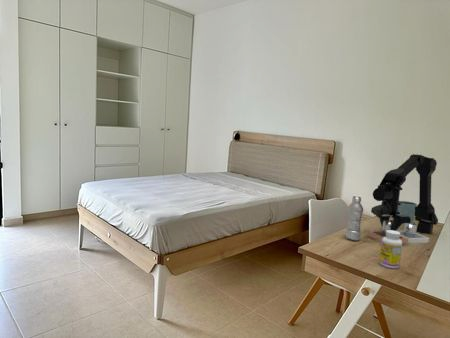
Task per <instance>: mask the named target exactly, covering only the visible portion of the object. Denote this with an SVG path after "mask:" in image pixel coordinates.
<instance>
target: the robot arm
mask: <svg viewBox="0 0 450 338" xmlns="http://www.w3.org/2000/svg"><path fill="white" fill-rule="evenodd" d="M437 163H438V162H437V160H436V159H435V158H434V157H428V156H425V155H422V154H414V153H413V154H411V155H410V156H409V158H408V159H406V160H405V161H404V162H403V163H402V164H401V165H400V166H399V167H397V168H393V169H391V170H389V171H387V172H386V173H385V174H384V175H383V178H382V180H381V182H380V183H379V185H377V188H375V189H374V190H373V192H372V197H373V199H374V200H375V201H377V202H381V204H377V205H375V206H373V207H371V209H370V210H371V213H372V214H373V215H374V216H376V217H377V218H378V219H379V222H380V225H381V227H382V226H383V220H389V221H390V222H391V230H393V231H398V229H399V228H400V227H401V226H402V225H403V224H402V223H411V218H410V217H409V216H406V215H397V214H400V212H398V205H401V203H399V201H400V195H401V194H400V193H401V191H402V190H404V189H403V188H402V187H401V186H402V185H403V184H404V183H405V182H406V180H407V176H408V175H409V174H410V173H412V171H414V169H415V170H416V172H417V173H418V175H419V193H418V194H419V200H418V204H417V206H416V207H415V213H414V214H415V217H414V221H416V222H417V224H416V225H417V229H416V233H418V234H426V235H431V234H433V235H435V234H434V233H433V231H434V230H433V229H434V225H435V226H436V225H437V224H438V223H439V218H438V217H437V215H436V212H435V207H434V206H433V204H432V175H433V174H434V172H435V171H436V169H437ZM391 218H392V219H391Z"/></svg>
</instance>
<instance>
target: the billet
mask: <svg viewBox="0 0 450 338" xmlns="http://www.w3.org/2000/svg"><path fill="white" fill-rule="evenodd" d="M403 225H404V227H403V231H404V233H403V236H405V237H407V238H415V237H416V233H417V225H418V224H415V223H405V224H403Z"/></svg>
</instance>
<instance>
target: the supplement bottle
mask: <svg viewBox="0 0 450 338" xmlns="http://www.w3.org/2000/svg"><path fill="white" fill-rule="evenodd" d="M397 231H398V230H397ZM397 231H393V230H387V231H386V237H384V238H383V239H382V242H381V245H380V254H379V255H380V256H379V264H380V265H381V266H383V267H386V268H389V269H398V268H399V267H400V265H401V256H402V248H403V244H402V241H401V240H400V239H399V237H400V232H397Z"/></svg>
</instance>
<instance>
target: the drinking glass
mask: <svg viewBox="0 0 450 338" xmlns="http://www.w3.org/2000/svg"><path fill="white" fill-rule="evenodd" d="M399 203H401V205H398V212H400V214H397V215H406V216H409V217H410V218H411V223H413V224H415V214H414V213H415V207H416V206H417V205H418V204H417V203H416V202H413V201H407V200H399ZM401 225H405V223H402V224H401Z"/></svg>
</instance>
